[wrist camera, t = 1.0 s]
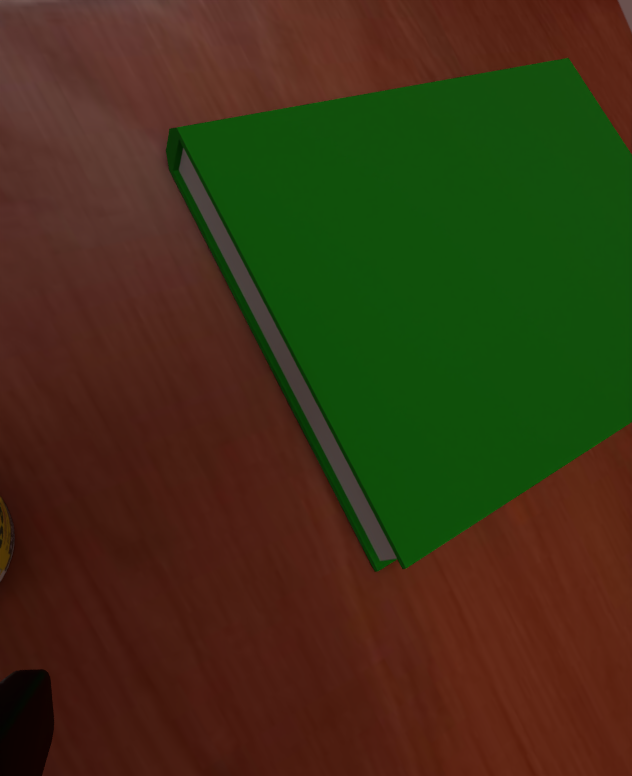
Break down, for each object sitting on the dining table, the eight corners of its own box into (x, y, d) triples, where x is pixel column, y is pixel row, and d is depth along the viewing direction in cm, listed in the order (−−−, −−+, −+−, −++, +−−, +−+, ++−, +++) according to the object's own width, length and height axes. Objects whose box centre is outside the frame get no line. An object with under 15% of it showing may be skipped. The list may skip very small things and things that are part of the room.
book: (709, 360, 39) (754, 342, 36) (375, 571, 26) (406, 568, 24) (534, 85, 42) (564, 51, 39) (164, 160, 30) (171, 117, 27)
